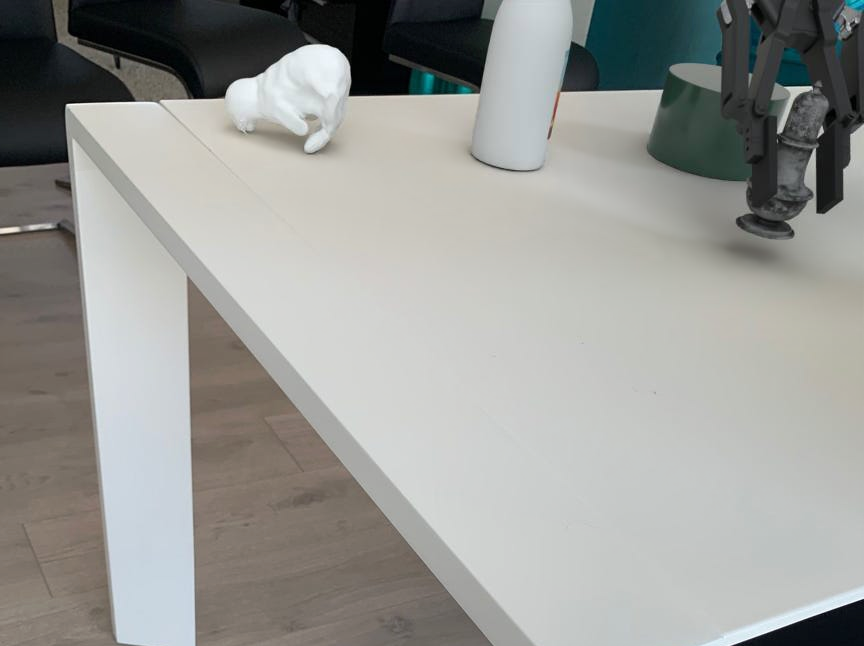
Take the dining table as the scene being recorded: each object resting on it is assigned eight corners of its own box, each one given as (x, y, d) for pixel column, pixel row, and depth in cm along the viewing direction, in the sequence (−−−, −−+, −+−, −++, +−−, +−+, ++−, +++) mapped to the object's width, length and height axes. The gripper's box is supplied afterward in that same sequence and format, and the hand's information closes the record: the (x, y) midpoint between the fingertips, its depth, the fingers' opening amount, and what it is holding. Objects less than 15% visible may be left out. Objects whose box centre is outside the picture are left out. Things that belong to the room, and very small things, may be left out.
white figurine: (344, 56, 90) (212, 45, 91) (342, 158, 96) (218, 147, 97) (356, 41, 95) (231, 31, 96) (354, 139, 101) (236, 128, 102)
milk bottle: (534, 178, 100) (589, -64, 87) (460, 160, 101) (503, -82, 88) (550, 158, 106) (603, -73, 93) (479, 141, 107) (522, -89, 94)
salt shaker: (809, 243, 89) (870, 93, 81) (748, 239, 88) (804, 86, 80) (779, 217, 93) (834, 73, 85) (721, 213, 92) (771, 66, 84)
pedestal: (772, 162, 116) (800, 86, 111) (748, 190, 107) (778, 107, 102) (664, 132, 120) (686, 56, 114) (632, 156, 111) (655, 75, 105)
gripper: (864, -20, 92) (867, 232, 91) (674, -47, 89) (675, 214, 88) (921, -82, 85) (925, 192, 84) (717, -113, 81) (718, 170, 80)
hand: (797, 202), depth 86 cm, fingers closed on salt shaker, 5 cm apart
